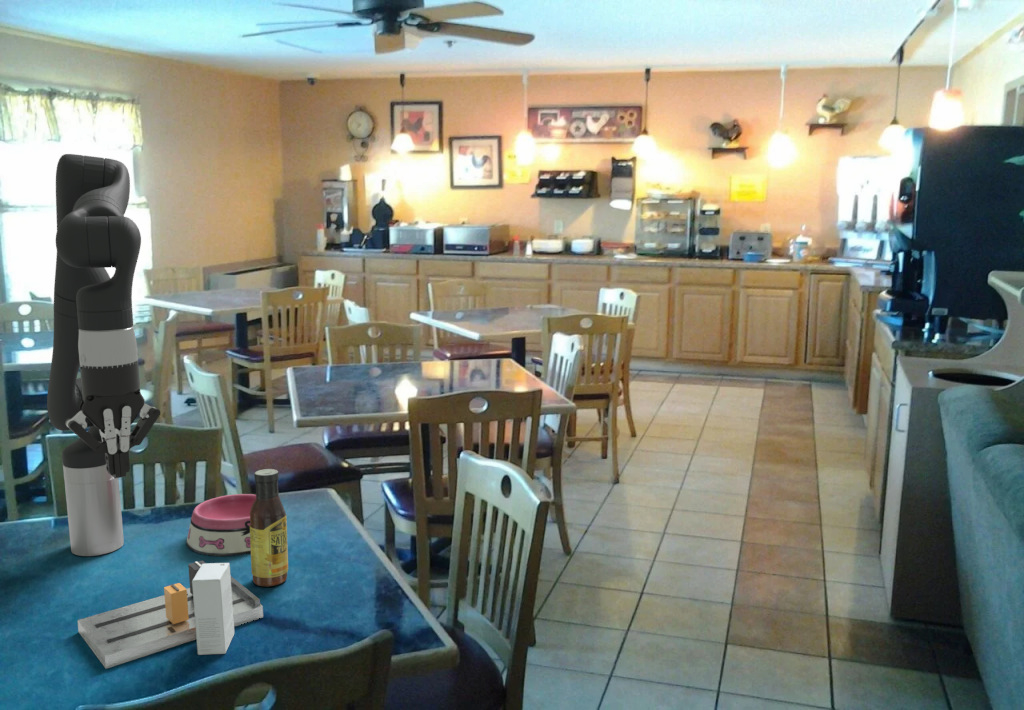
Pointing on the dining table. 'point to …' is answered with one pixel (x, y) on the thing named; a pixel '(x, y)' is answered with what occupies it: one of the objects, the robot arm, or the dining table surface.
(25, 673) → the dining table surface
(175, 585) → the fader orange
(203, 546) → the dog bowl
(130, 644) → the console
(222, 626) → the skincare box
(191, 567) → the block
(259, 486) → the sauce bottle
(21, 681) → the dining table surface
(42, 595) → the dining table surface
